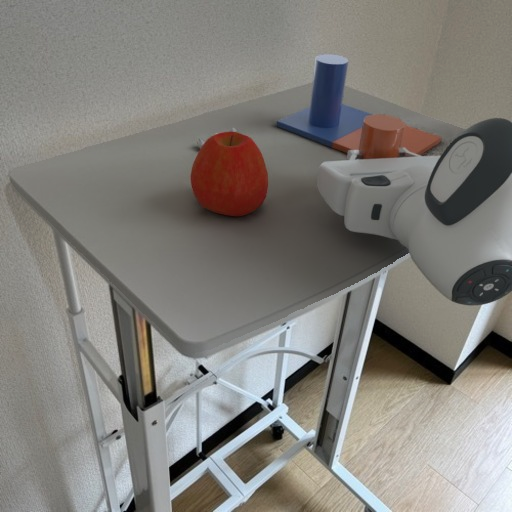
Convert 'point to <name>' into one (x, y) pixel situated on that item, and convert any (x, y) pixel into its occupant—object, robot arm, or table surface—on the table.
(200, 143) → the game pieces
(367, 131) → the terracotta canister
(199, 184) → the apple
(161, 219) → the table surface
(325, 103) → the blue canister
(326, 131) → the board
